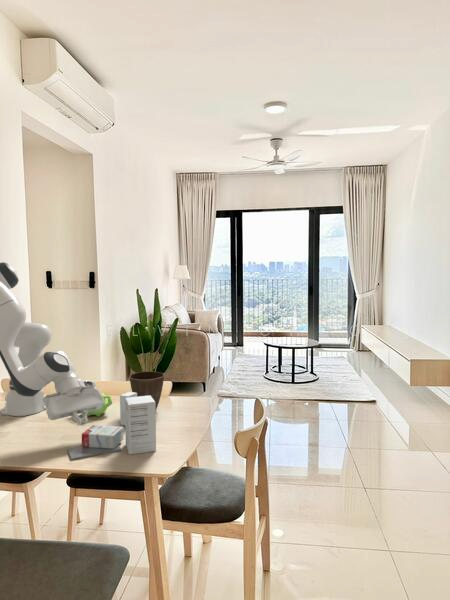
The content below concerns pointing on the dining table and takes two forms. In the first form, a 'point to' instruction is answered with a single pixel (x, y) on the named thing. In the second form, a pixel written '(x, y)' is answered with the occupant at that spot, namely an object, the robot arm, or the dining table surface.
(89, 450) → the slate tile
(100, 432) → the ink box
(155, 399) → the plant pot
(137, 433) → the supplement box
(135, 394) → the skincare box
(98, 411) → the teapot
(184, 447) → the dining table surface
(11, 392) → the robot arm
